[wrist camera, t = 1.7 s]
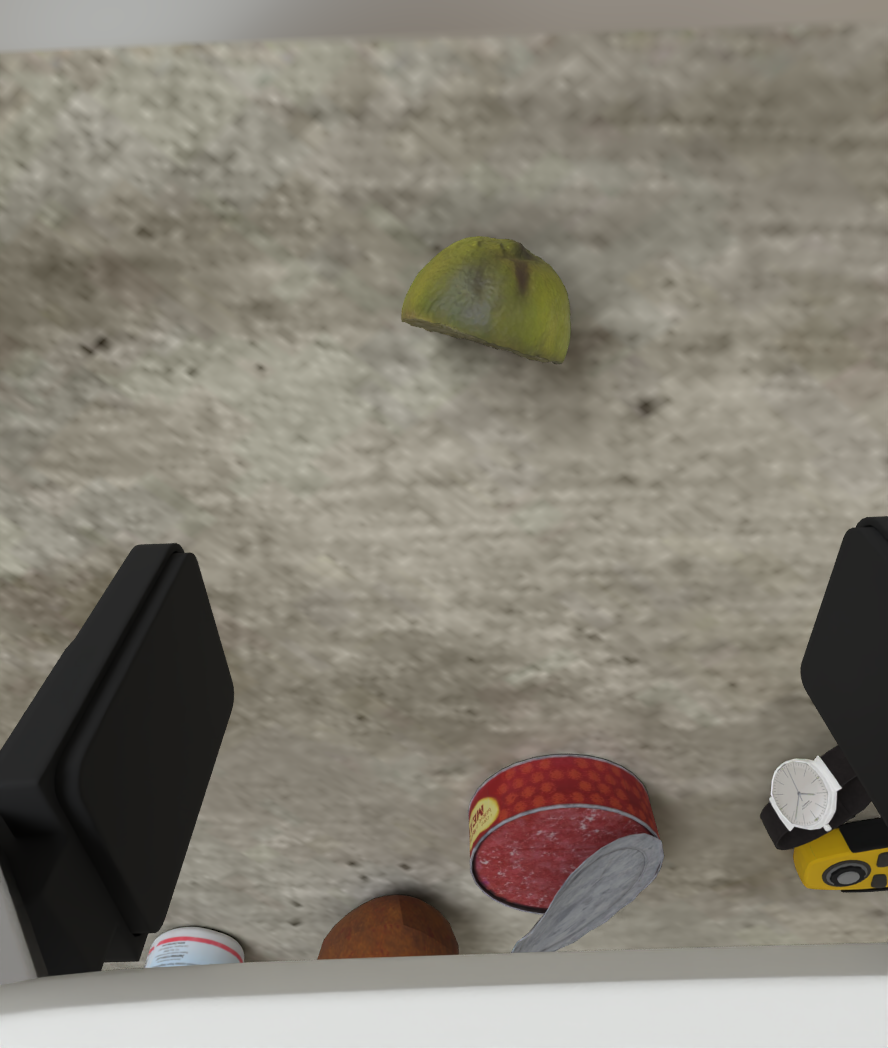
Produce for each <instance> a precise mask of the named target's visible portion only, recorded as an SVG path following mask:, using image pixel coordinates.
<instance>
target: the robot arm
mask: <svg viewBox="0 0 888 1048" xmlns="http://www.w3.org/2000/svg"><path fill="white" fill-rule="evenodd" d="M801 679H802V683H803V686H804V688H805V690H806V692H807V694H808V695H809V697H810V699H811V700H812V702H813V704H814V705H815V707H816V709H817V710H818V712H819V714H820V715H821V717H822V719H823V720H824V722H825V724H826V725H827V727H828V729H829V730H830V732H831V734H832V735H833V737H834V739H835V740H836V742H837V744H838V745H839V747H840V749H841V750H842V752H843V754H844V755H845V757H846V759H847V760H848V762H849V764H850V765H851V767H852V769H853V770H854V772H855V774H856V775H857V777H858V779H859V780H860V782H861V784H862V786H863V787H864V789H865V791H866V792H867V794H868V796H869V797H870V799H871V801H872V802H873V804H874V806H875V807H876V809H877V811H878V812H879V814H880V816H881V817H882V819H883V821H884V822H885V824H886V826H887V827H888V516H885V517H866V518H864V519H862V520H861V521H860V522H859V523H858V524H857V526H856V528H851V529H849V530H848V531H847V532H846V534H845V536H844V538H843V541H842V544H841V547H840V550H839V553H838V556H837V559H836V562H835V565H834V568H833V571H832V574H831V577H830V580H829V583H828V586H827V589H826V592H825V595H824V598H823V601H822V603H821V606H820V609H819V612H818V615H817V618H816V621H815V624H814V627H813V630H812V633H811V636H810V639H809V642H808V645H807V648H806V651H805V654H804V657H803V660H802V664H801ZM233 701H234V687H233V682H232V679H231V675H230V672H229V668H228V665H227V662H226V658H225V655H224V651H223V648H222V644H221V641H220V637H219V634H218V630H217V627H216V624H215V620H214V617H213V613H212V610H211V606H210V603H209V599H208V596H207V592H206V589H205V585H204V582H203V579H202V575H201V572H200V568H199V565H198V561H197V559H196V557H195V555H194V554H193V553H184V550H183V549H182V547H181V546H180V545H179V544H177V543H170V544H144V545H137V546H135V547H134V548H133V549H132V550H131V551H130V553H129V555H128V556H127V558H126V559H125V561H124V562H123V564H122V566H121V567H120V569H119V570H118V572H117V573H116V575H115V577H114V578H113V580H112V581H111V583H110V584H109V586H108V588H107V589H106V591H105V592H104V594H103V595H102V597H101V599H100V600H99V602H98V603H97V605H96V606H95V608H94V610H93V611H92V613H91V614H90V616H89V617H88V619H87V621H86V622H85V624H84V625H83V627H82V628H81V630H80V631H79V633H78V635H77V636H76V638H75V639H74V641H72V642H71V644H70V645H69V646H68V647H67V648H66V649H65V651H64V652H63V654H62V655H61V657H60V659H59V660H58V662H57V663H56V665H55V666H54V668H53V670H52V671H51V673H50V674H49V676H48V677H47V679H46V680H45V682H44V684H43V685H42V687H41V688H40V690H39V691H38V693H37V694H36V696H35V698H34V699H33V701H32V702H31V704H30V705H29V707H28V708H27V710H26V712H25V713H24V715H23V716H22V718H21V719H20V721H19V722H18V724H17V726H16V727H15V729H14V730H13V732H12V733H11V735H10V736H9V738H8V740H7V741H6V743H5V744H4V746H3V747H2V749H1V750H0V1048H888V942H887V943H846V944H805V945H765V946H730V947H695V948H661V949H627V950H594V951H561V952H528V953H496V954H466V955H437V956H409V957H381V958H352V959H324V960H295V961H267V962H246V963H227V964H208V965H190V966H171V967H152V968H133V969H116V970H106V971H101V969H102V966H103V963H104V962H133V961H139V959H140V956H141V953H142V950H143V947H144V944H145V941H146V938H147V935H148V933H156V932H157V931H159V930H160V928H161V926H162V925H163V922H164V920H165V917H166V914H167V911H168V908H169V905H170V902H171V899H172V896H173V892H174V889H175V886H176V883H177V880H178V877H179V874H180V871H181V867H182V864H183V861H184V858H185V855H186V852H187V849H188V846H189V842H190V839H191V836H192V833H193V830H194V827H195V824H196V821H197V817H198V814H199V811H200V808H201V805H202V802H203V799H204V796H205V792H206V789H207V786H208V783H209V780H210V777H211V774H212V771H213V767H214V764H215V761H216V758H217V755H218V752H219V749H220V746H221V742H222V739H223V736H224V733H225V730H226V727H227V724H228V721H229V717H230V714H231V711H232V707H233Z"/></svg>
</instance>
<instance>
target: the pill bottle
mask: <svg viewBox="0 0 888 1048" xmlns="http://www.w3.org/2000/svg"><path fill="white" fill-rule="evenodd" d="M227 963H244V952H243V949H242V947H241V946H240V944H239V943H238V942H237V941H236V940H235V939H233V938H232V937H230V936H228V935H226V934H223V933H220V932H217V931H213V930H210V929H206V928H201V927H182V928H176V929H172V930H169V931H167V932H165V933H163V934H161V935H160V936H159V937H157V938H156V939H155V941H154V942H153V944H152V946H151V948H150V951H149V954H148V957H147V960H146V963H145V966H144V968H152V967H171V966H190V965H208V964H227Z"/></svg>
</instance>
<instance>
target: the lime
mask: <svg viewBox="0 0 888 1048" xmlns="http://www.w3.org/2000/svg"><path fill="white" fill-rule="evenodd" d="M401 320H402V322H406V323H408V324H410V325H411V326H415V327H420V328H423V329H425V330H427V331H430V332H433V331H434V332H439V333H441V334H447V335H450V336H452V337H456V338H459V339H460V338H465V339H468V340H472V341H475V342H478V343H482V344H483V345H486V346H488V347H490V346H491V347H492V348H495V349H501V350H508V351H511V352H513V353H514V354H517V355H519V356H522V357H525V358H527V359H529V360H536V361H540V362H542V363H545V362H552V363H554V364H562V363H563V361H564V359H565V356H566V353H567V350H568V346H569V342H570V335H571V323H570V306H569V300H568V294H567V291H566V289H565V286H564V285H563V283H562V281H561V280H560V278H559V276H558V275H557V274H556V272H555V271H554V270H553V269H552V267H551V266H550V265H549V264H547V263H545V262H544V261H543V260H542V259H541V258H539V257H538V256H535V255H534V254H532V253H530V251H529V250H526V249H525V248H524V246H523V245H522V244H521V243H518V242H516V241H514V240H509V239H496V238H489V237H482V236H481V237H480V236H477V237H469V238H465V239H463V240H460V241H457V242H455V243H453V244H452V245H450V246H449V247H447V248H445V249H443V250H442V251H441V252H440V253H438V254H437V255H436V256H435V257H434V258H433V259H432V260H431V261H430V262H429V263H428V264H427V265H426V266H425V267H424V268H423V269H422V270H421V271H420V272H419V273H418V275H417V276H416V278H415V280H414V281H413V283H412V285H411V286H410V289H409V291H408V293H407V295H406V297H405V300H404V303H403V307H402V315H401Z"/></svg>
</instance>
